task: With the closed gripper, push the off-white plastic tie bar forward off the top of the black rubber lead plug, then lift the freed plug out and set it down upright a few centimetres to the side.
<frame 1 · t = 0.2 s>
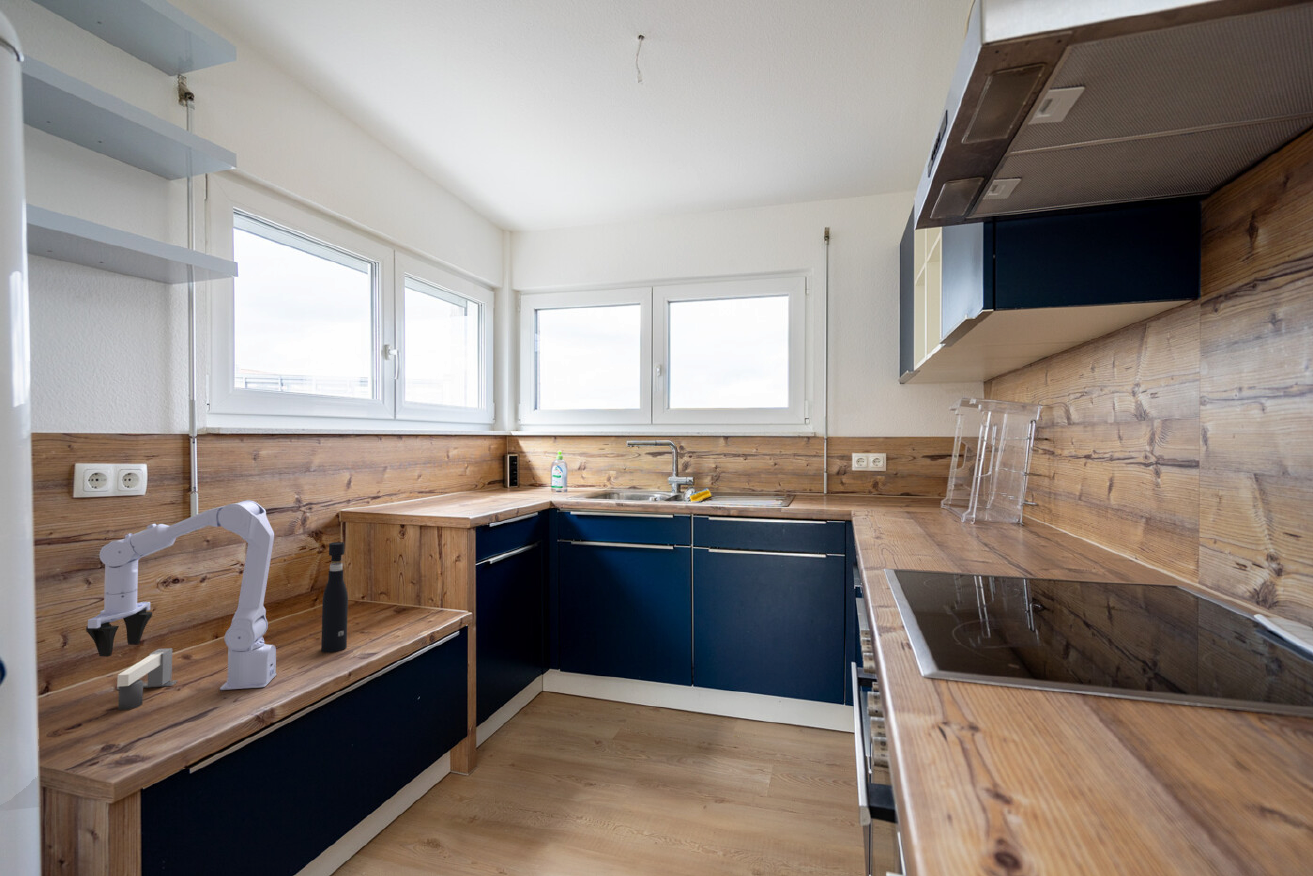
hand: (119, 650, 138), 10 cm above the worktop, fingers open, 7 cm apart
black water bottle: (333, 649, 170), on the worktop
lead plug: (130, 706, 132), on the worktop
tie bar: (144, 677, 137), point 4 cm above the worktop, slide at 0.0 cm
rail: (147, 685, 142), on the worktop
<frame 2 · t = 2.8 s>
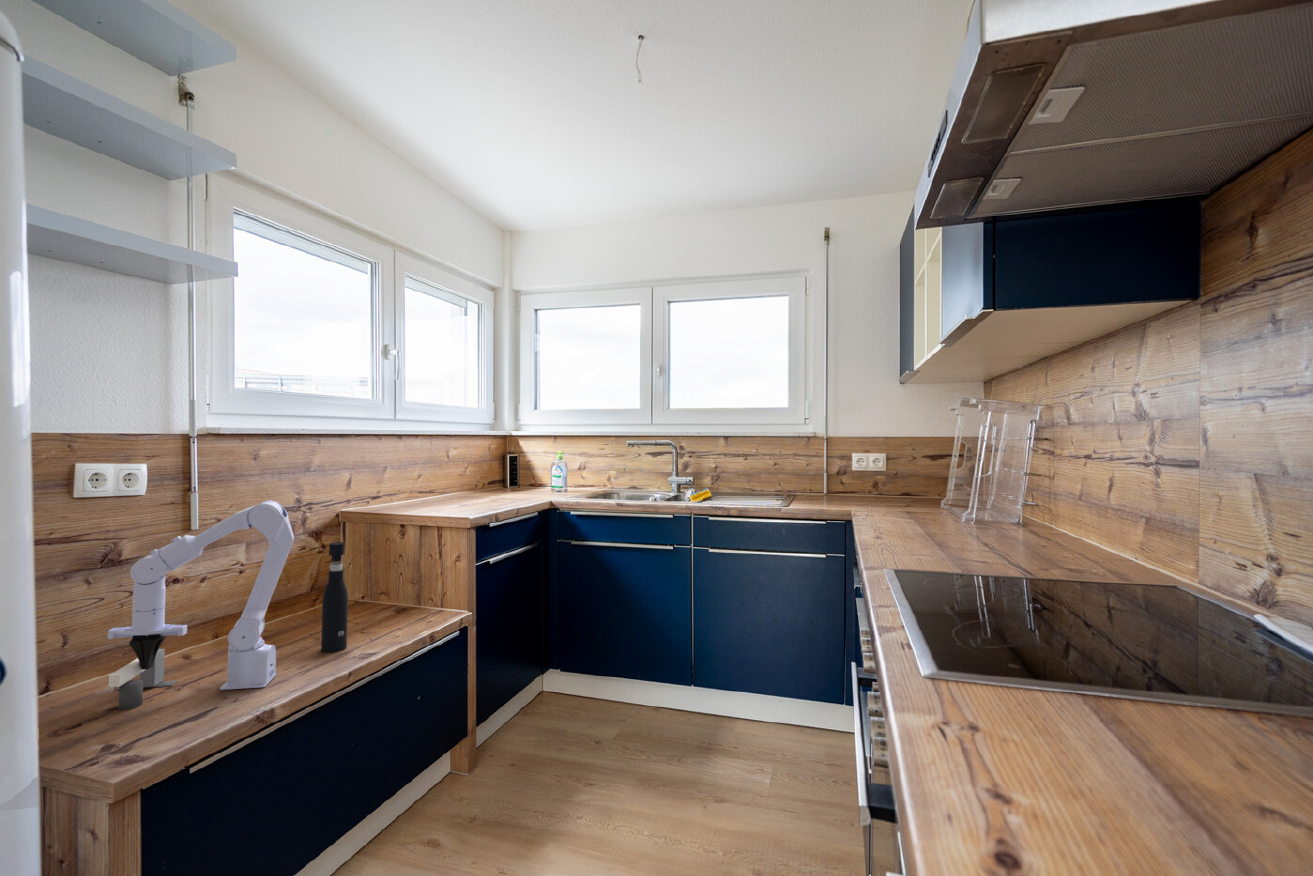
hand: (147, 668, 137), 6 cm above the worktop, fingers closed
tie bar: (136, 677, 137), point 4 cm above the worktop, slide at 1.6 cm, touching gripper
everything else where it was.
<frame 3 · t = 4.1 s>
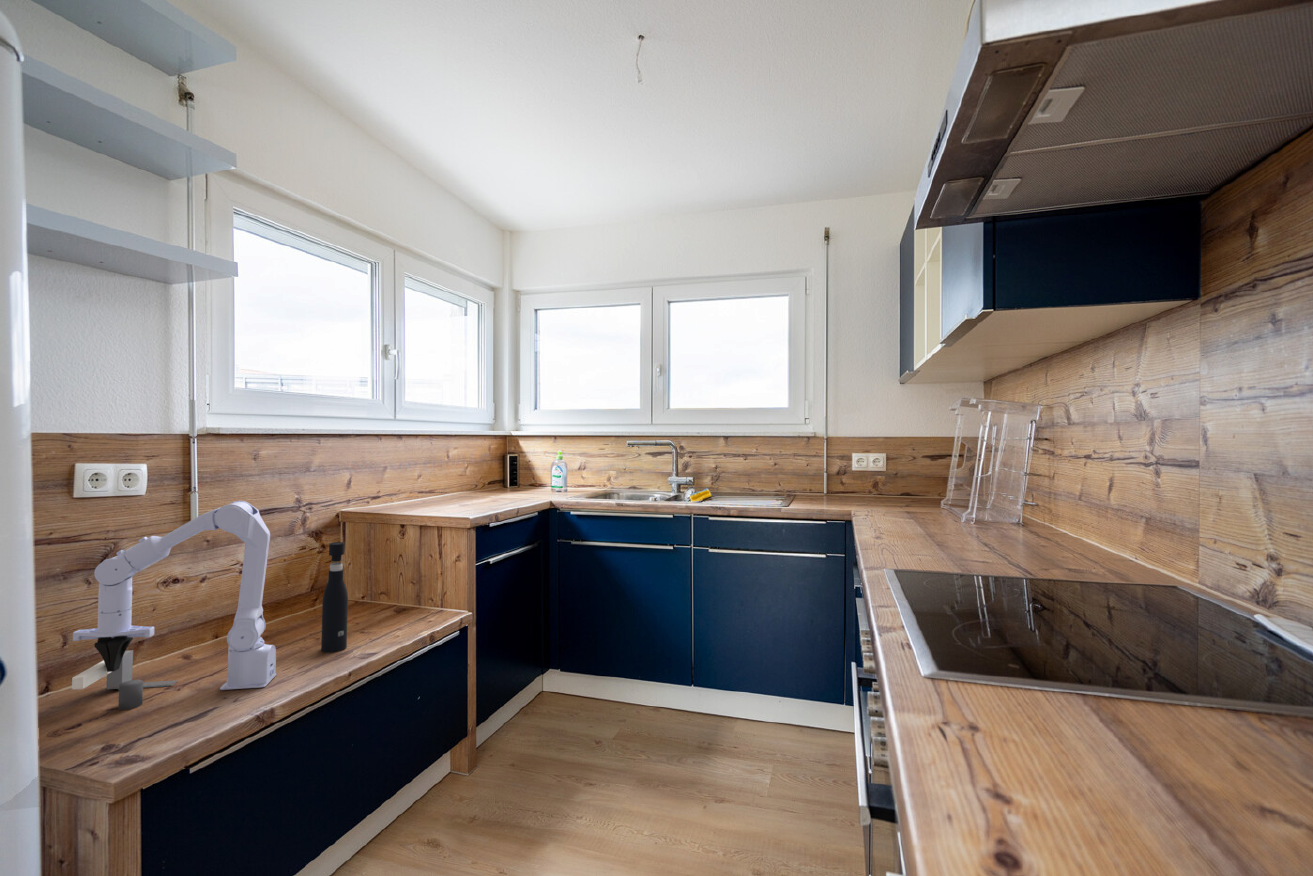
hand: (113, 670, 135), 6 cm above the worktop, fingers closed
tie bar: (102, 679, 135), point 4 cm above the worktop, slide at 8.1 cm, touching gripper
everything else where it was.
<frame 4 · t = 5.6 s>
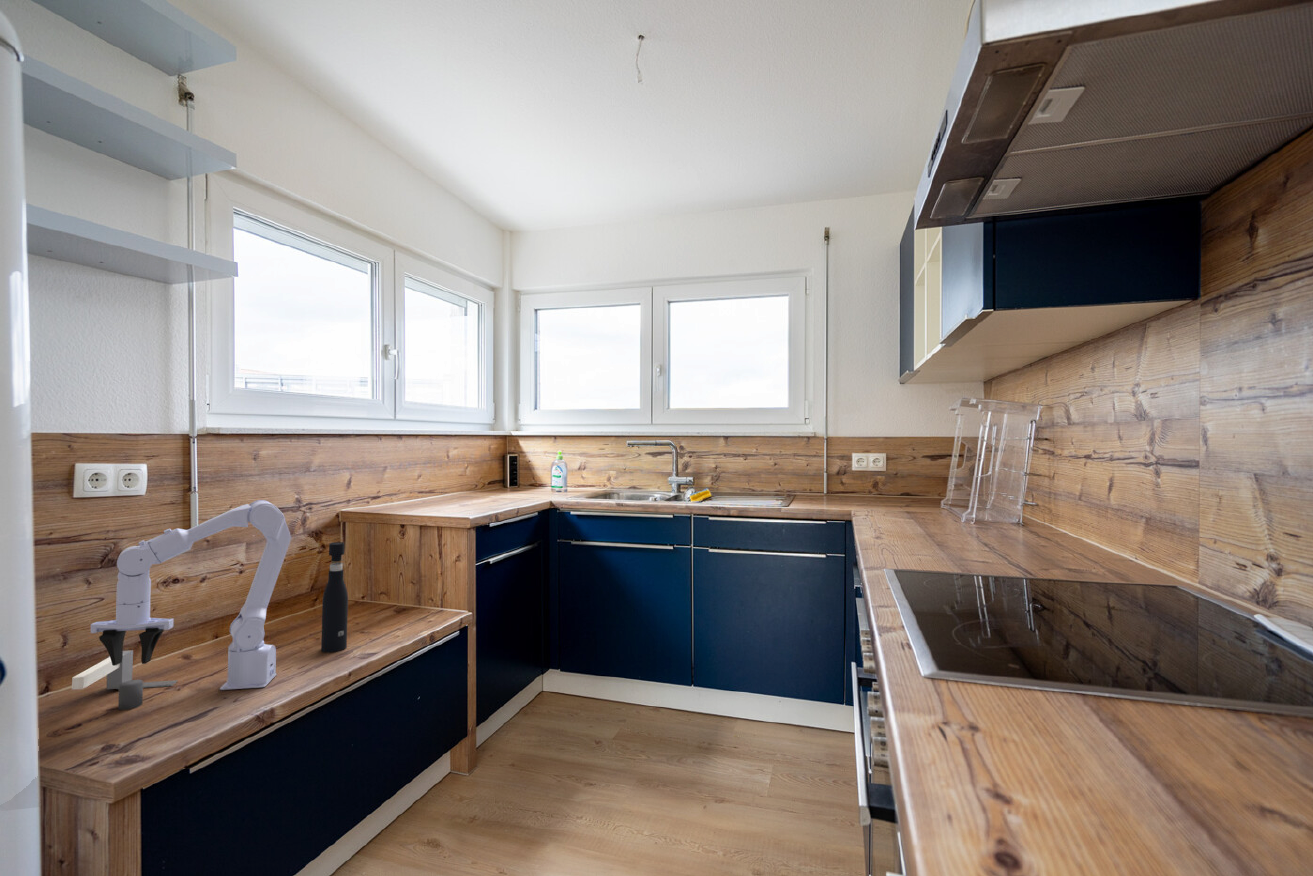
hand: (131, 663, 132), 9 cm above the worktop, fingers open, 5 cm apart
tie bar: (102, 679, 135), point 4 cm above the worktop, slide at 8.1 cm
everything else where it was.
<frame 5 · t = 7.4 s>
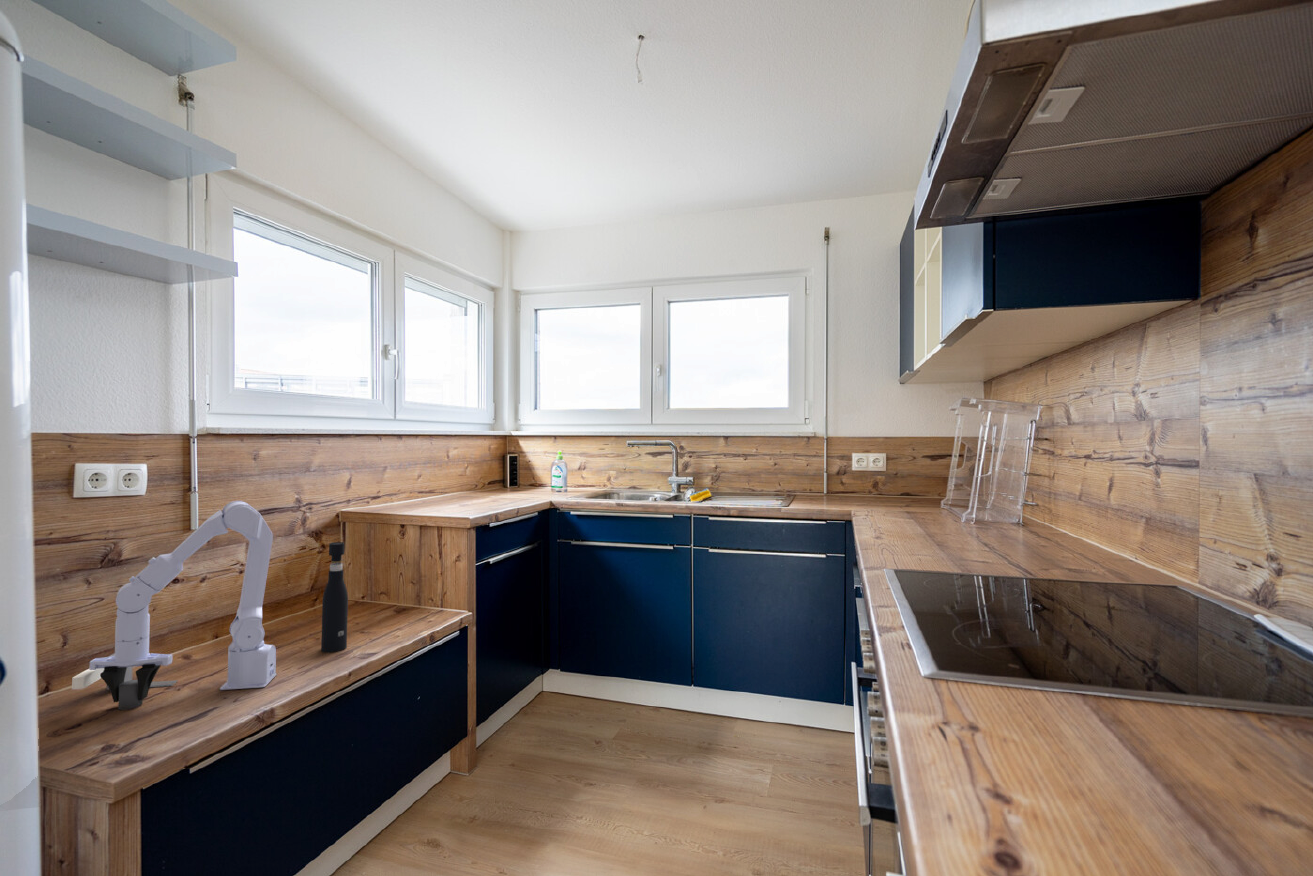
hand: (130, 699, 132), 1 cm above the worktop, fingers closed on lead plug, 4 cm apart
lead plug: (130, 706, 132), on the worktop, touching gripper
everything else where it was.
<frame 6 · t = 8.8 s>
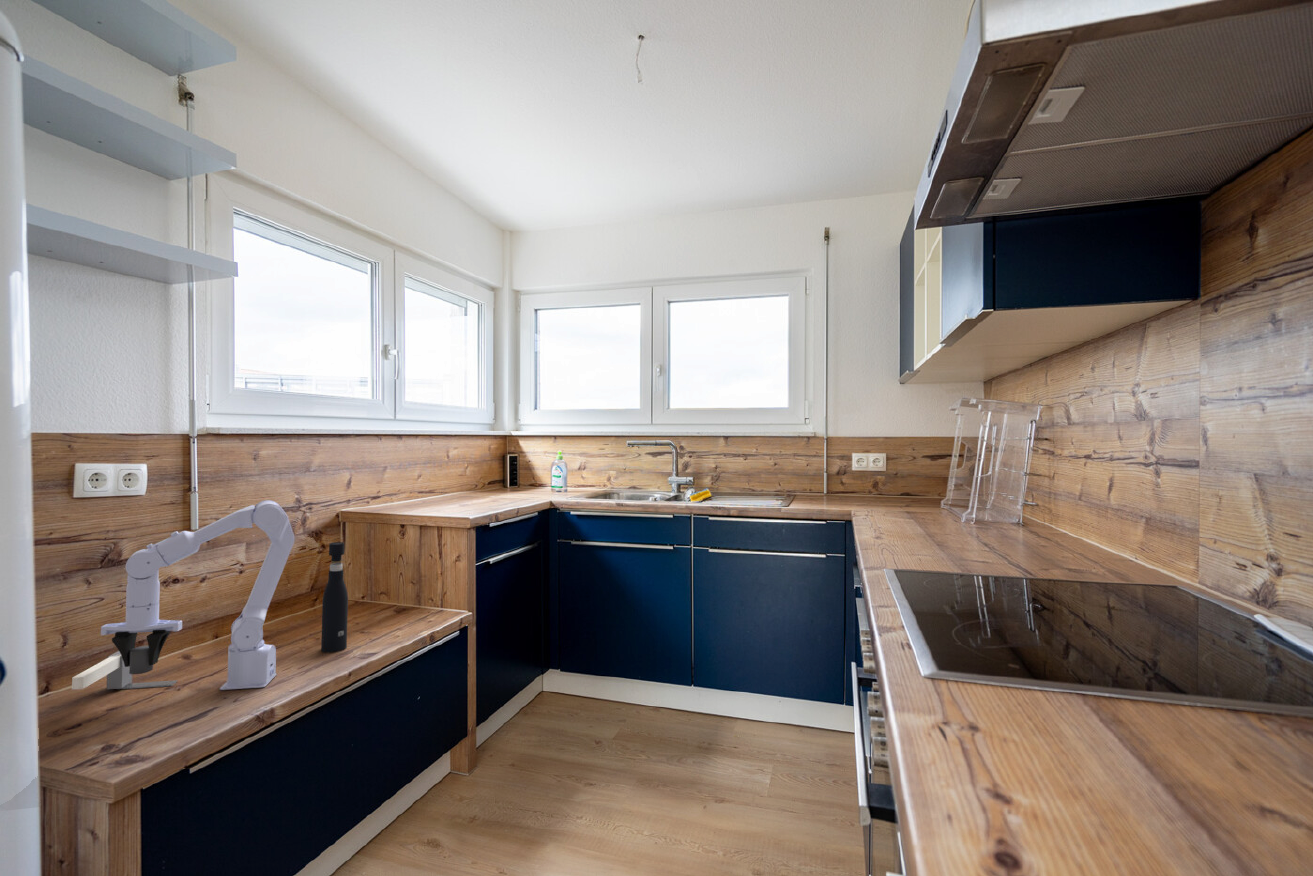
hand: (141, 664, 134), 8 cm above the worktop, fingers closed on lead plug, 4 cm apart
lead plug: (141, 671, 134), point 7 cm above the worktop, touching gripper
everything else where it was.
when the fingers open (3 cm above the worktop, at t = 10.6 s): lead plug drops 2 cm, on the worktop.
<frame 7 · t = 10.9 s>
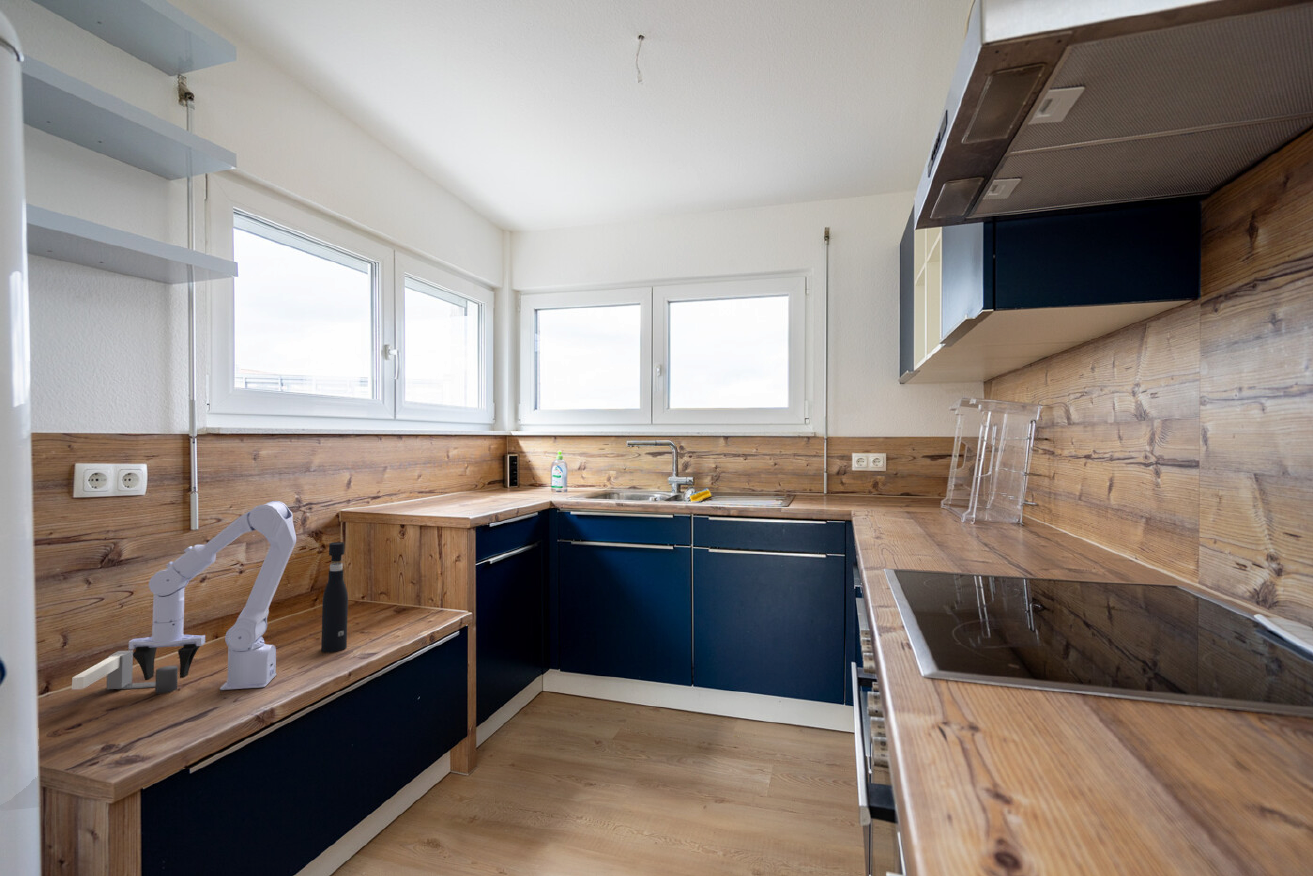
hand: (166, 677, 140), 3 cm above the worktop, fingers open, 6 cm apart
lead plug: (166, 690, 140), on the worktop
everything else where it was.
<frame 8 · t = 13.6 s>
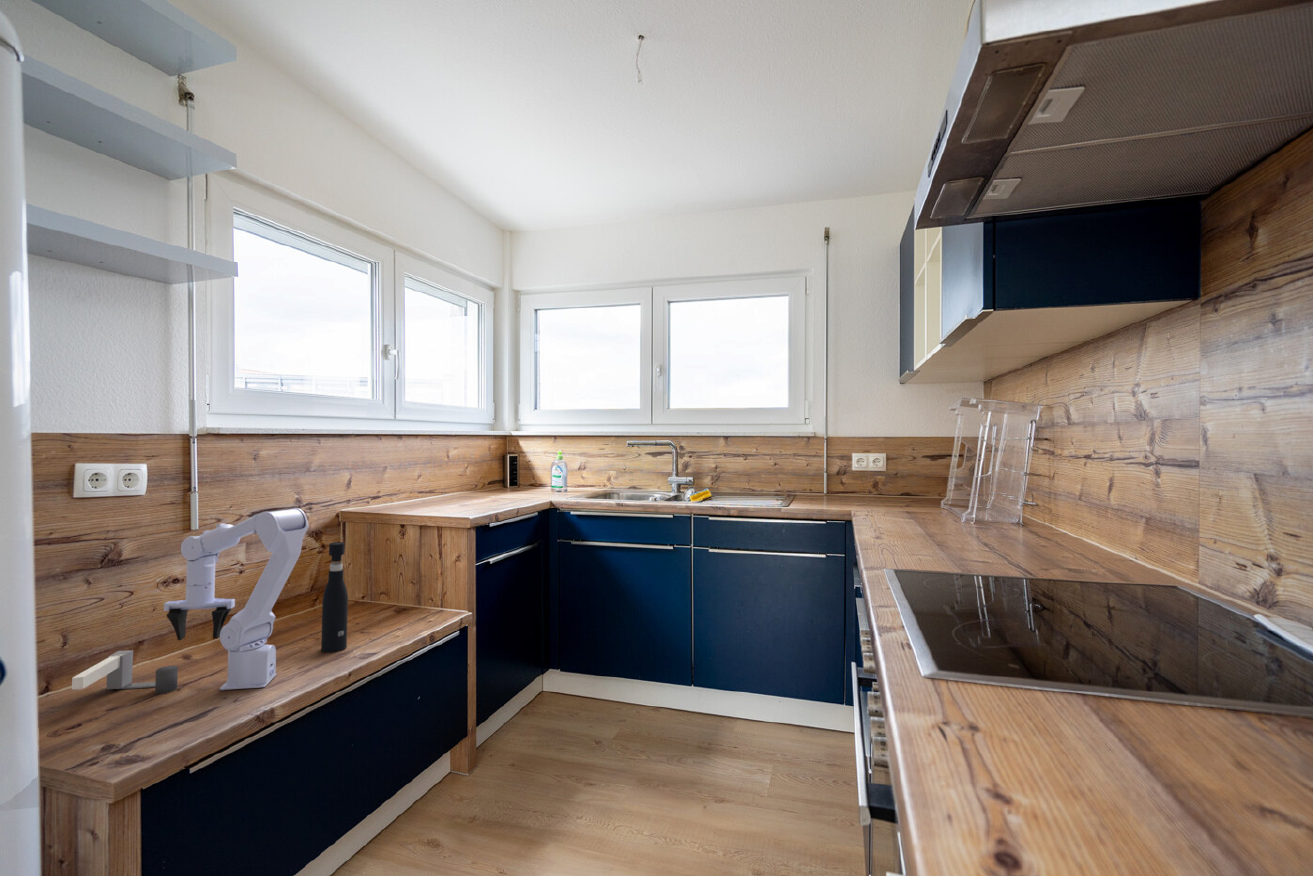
hand: (199, 638, 149), 9 cm above the worktop, fingers open, 7 cm apart
nothing on the worktop moved.
at the end: tie bar slide at 8.1 cm; lead plug 0.0 cm from the target spot, on the worktop; lead plug tilted 0° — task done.
